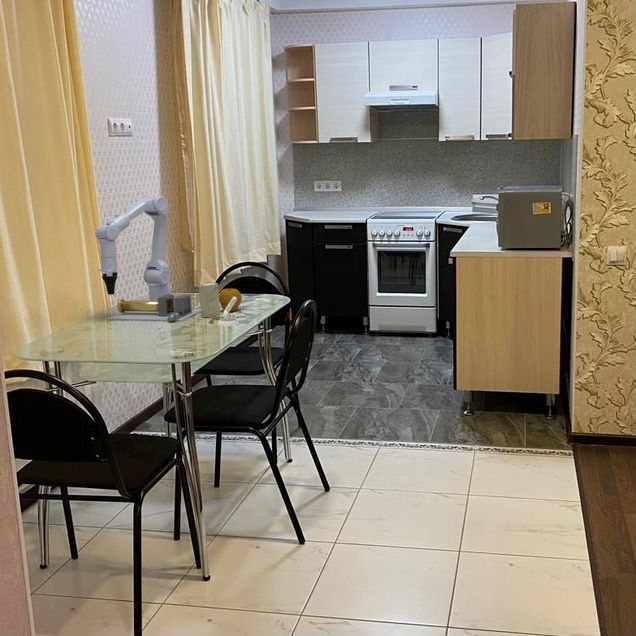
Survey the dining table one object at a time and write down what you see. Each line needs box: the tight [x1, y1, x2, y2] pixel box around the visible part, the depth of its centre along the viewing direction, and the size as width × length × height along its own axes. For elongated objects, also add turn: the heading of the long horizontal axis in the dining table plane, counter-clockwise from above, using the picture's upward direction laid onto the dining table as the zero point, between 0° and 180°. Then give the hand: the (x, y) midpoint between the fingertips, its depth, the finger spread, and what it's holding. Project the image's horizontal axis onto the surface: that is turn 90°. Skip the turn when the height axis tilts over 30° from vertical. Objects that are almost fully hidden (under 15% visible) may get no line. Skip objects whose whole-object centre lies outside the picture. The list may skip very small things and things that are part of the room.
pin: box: [117, 298, 169, 314], centre depth 315 cm, size 5×19×5 cm, turn 73°
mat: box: [108, 309, 201, 322], centre depth 314 cm, size 18×30×1 cm, turn 73°
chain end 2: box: [167, 294, 193, 322], centre depth 307 cm, size 15×3×7 cm, turn 163°
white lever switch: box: [217, 296, 240, 327], centre depth 293 cm, size 8×12×7 cm
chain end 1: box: [157, 293, 175, 317], centre depth 316 cm, size 15×3×7 cm, turn 163°
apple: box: [219, 288, 243, 313], centre depth 316 cm, size 8×8×9 cm
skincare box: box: [198, 282, 221, 319], centre depth 308 cm, size 6×4×12 cm
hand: (111, 293), depth 311 cm, fingers open, 7 cm apart
